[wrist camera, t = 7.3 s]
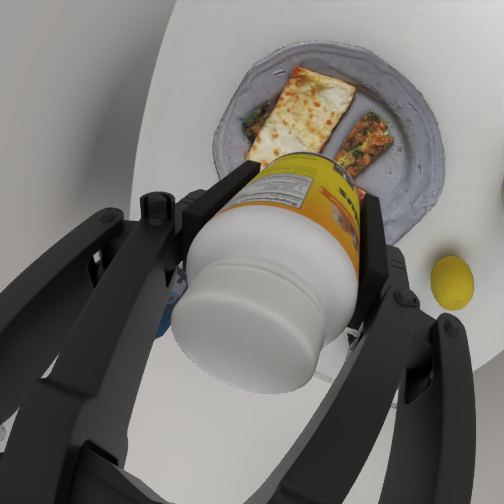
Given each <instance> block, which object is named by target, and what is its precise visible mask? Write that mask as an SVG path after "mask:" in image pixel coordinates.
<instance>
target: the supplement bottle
mask: <svg viewBox="0 0 504 504" xmlns="http://www.w3.org/2000/svg"><path fill="white" fill-rule="evenodd" d="M359 260H360V204H359V196H358V192H357V189H356V186H355V184H354V182H353V180H352V178H351V177H350V175H349V174H348V173H347V171H346V170H345V169H344V168H343V167H342V166H341V165H340V164H338V163H337V162H336V161H334V160H333V159H331V158H329V157H327V156H325V155H322V154H319V153H315V152H307V151H299V152H293V153H288V154H285V155H283V156H281V157H279V158H277V159H275V160H274V161H272V162H271V163H270V164H269V165H268V166H266V167H265V168H264V169H263V170H262V171H261V172H260V173H259V174H258V175H257V176H256V177H254V178H253V179H252V180H251V181H250V182H249V183H248V184H247V185H246V186H245V187H244V188H243V189H242V190H240V191H239V192H238V193H237V194H236V195H235V196H234V197H233V198H232V199H231V200H230V201H229V202H228V203H227V204H226V205H225V206H224V207H223V208H222V209H221V210H220V211H219V212H217V213H216V214H215V216H214V217H213V218H212V219H210V220H209V221H208V222H207V223H206V224H205V225H204V227H203V228H202V229H201V230H200V232H199V233H198V234H197V235H196V237H195V238H194V240H193V242H192V244H191V246H190V249H189V252H188V255H187V261H186V277H187V283H188V289H187V291H186V292H185V293H184V295H183V296H182V297H181V299H180V300H179V301H178V303H177V304H176V305H175V307H174V309H173V312H172V316H171V327H172V332H173V335H174V337H175V339H176V342H177V343H178V345H179V346H180V348H181V349H182V351H183V352H184V353H185V354H186V355H187V356H188V358H189V359H190V360H191V361H192V362H193V363H195V364H196V365H197V366H198V367H200V368H201V369H202V370H203V371H205V372H206V373H208V374H209V375H211V376H213V377H214V378H216V379H218V380H220V381H222V382H224V383H226V384H228V385H231V386H233V387H236V388H239V389H242V390H246V391H250V392H255V393H263V394H280V393H287V392H291V391H294V390H296V389H299V388H300V387H302V386H304V385H305V384H306V383H308V381H310V379H311V378H312V376H313V374H314V372H315V369H316V366H317V363H318V359H319V355H320V351H321V350H322V348H323V347H324V346H326V345H328V344H329V343H331V342H332V341H333V340H335V339H336V338H337V337H338V336H339V335H340V334H341V333H342V332H343V331H344V330H345V328H346V327H347V325H348V324H349V322H350V320H351V318H352V316H353V313H354V310H355V306H356V301H357V294H358V286H359Z"/></svg>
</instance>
